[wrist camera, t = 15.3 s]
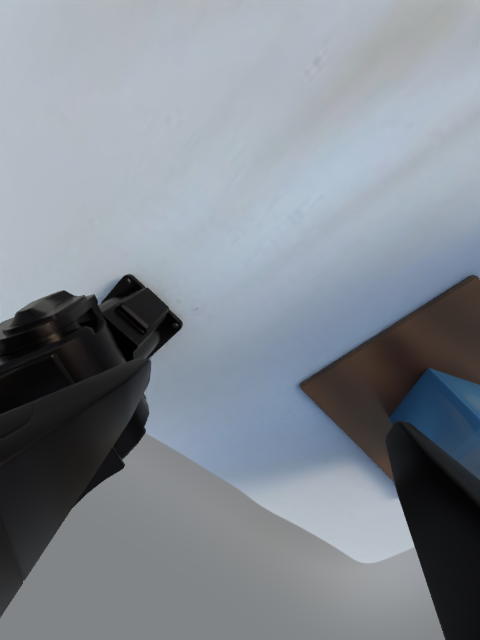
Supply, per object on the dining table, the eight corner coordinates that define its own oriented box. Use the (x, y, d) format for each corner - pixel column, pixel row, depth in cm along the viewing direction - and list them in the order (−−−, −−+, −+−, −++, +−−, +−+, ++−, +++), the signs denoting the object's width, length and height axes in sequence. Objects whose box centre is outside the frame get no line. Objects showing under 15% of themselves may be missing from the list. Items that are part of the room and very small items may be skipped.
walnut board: (409, 494, 29) (412, 500, 28) (299, 383, 24) (300, 387, 24) (576, 433, 23) (583, 439, 22) (472, 274, 19) (478, 276, 18)
